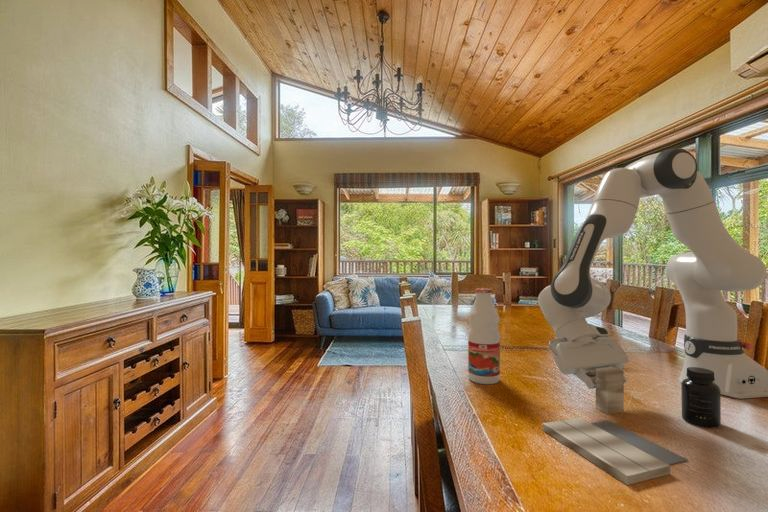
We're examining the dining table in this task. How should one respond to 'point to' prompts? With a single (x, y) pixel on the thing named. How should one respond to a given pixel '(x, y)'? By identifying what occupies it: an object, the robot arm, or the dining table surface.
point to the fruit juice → (483, 340)
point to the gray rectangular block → (610, 390)
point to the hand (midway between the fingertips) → (608, 385)
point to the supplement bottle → (701, 398)
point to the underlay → (640, 442)
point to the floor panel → (607, 450)
